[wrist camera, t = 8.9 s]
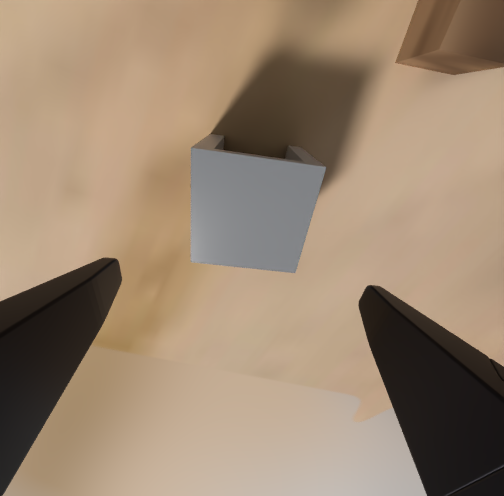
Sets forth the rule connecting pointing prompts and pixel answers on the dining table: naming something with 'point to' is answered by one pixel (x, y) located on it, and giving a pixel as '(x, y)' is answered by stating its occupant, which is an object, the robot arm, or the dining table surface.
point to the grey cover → (251, 206)
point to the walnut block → (455, 36)
